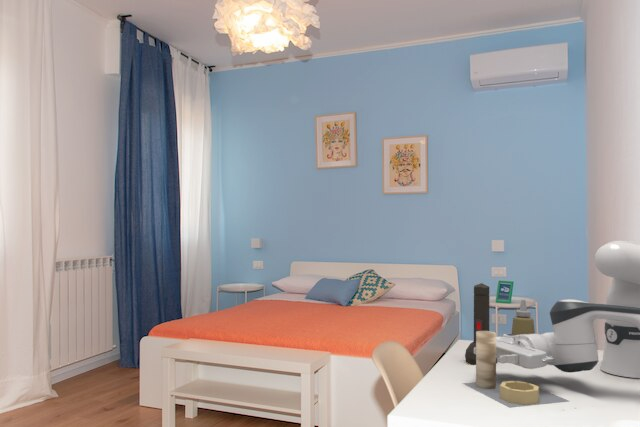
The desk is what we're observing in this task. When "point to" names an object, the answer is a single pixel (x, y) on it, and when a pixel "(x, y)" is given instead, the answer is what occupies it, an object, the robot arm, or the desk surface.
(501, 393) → the socket board
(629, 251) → the robot arm
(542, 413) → the desk surface
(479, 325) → the flashlight
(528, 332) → the squeeze bottle
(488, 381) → the ash peg
